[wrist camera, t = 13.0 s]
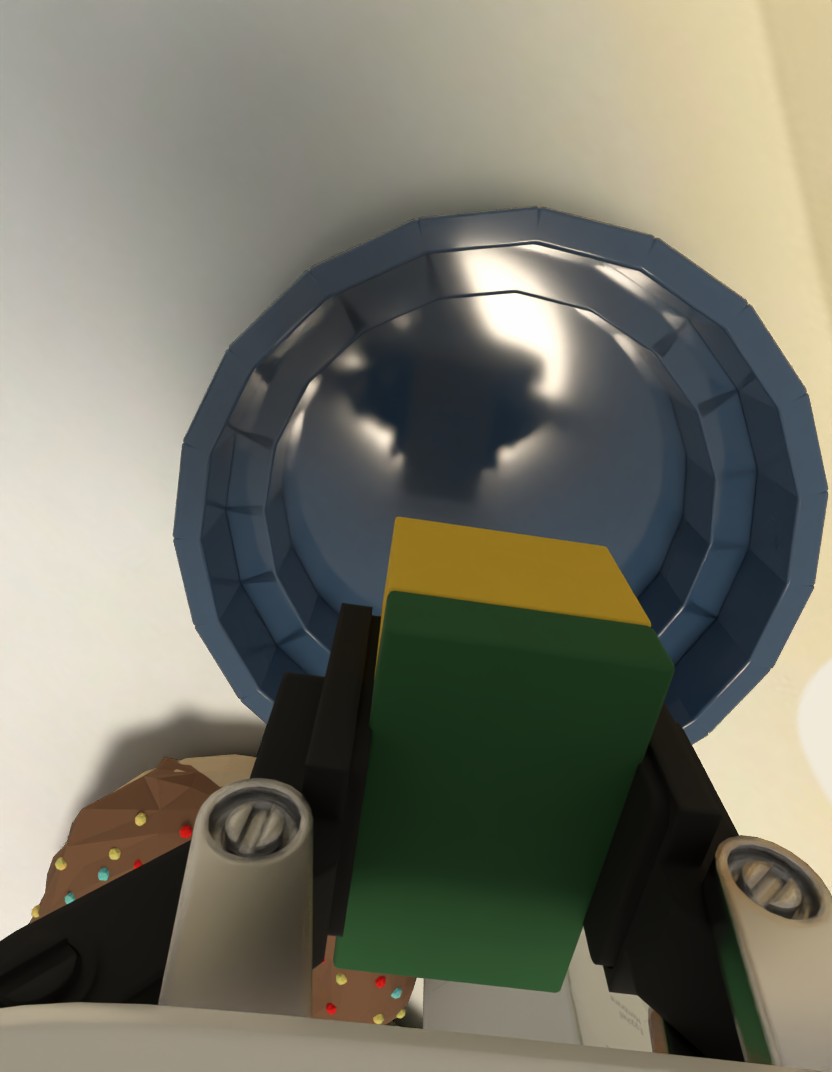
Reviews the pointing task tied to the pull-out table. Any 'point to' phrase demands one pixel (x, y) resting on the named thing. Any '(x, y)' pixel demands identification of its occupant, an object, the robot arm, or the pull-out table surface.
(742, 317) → the bowl
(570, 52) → the pull-out table surface
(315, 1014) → the donut
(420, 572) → the sponge
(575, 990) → the cosmetics box
